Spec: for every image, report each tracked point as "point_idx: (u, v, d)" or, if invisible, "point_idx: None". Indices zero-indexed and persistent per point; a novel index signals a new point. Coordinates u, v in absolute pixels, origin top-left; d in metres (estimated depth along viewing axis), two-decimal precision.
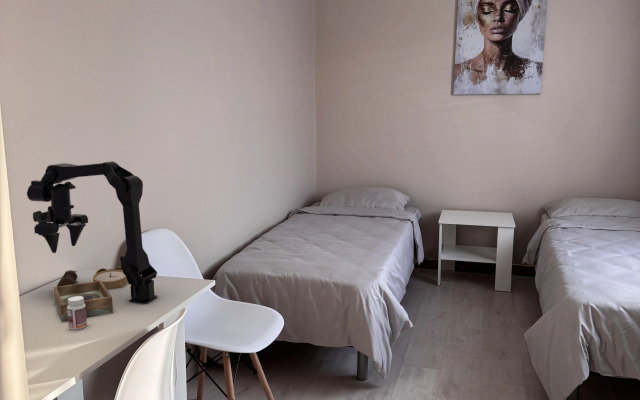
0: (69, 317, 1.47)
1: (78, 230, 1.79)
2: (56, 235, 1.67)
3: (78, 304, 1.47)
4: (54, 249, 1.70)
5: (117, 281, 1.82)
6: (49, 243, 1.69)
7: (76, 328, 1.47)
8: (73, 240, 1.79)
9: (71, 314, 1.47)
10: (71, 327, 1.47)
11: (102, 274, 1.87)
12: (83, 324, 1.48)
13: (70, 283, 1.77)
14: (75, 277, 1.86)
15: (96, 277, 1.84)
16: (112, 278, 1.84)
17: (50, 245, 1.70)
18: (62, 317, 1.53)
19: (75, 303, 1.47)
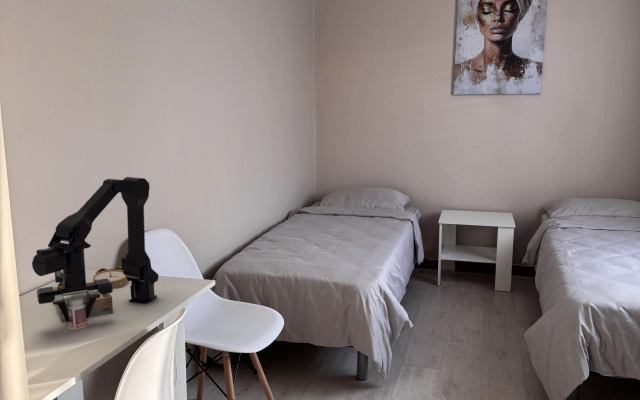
0: (69, 317, 1.47)
1: (88, 301, 1.48)
2: (59, 304, 1.44)
3: (78, 304, 1.47)
4: (65, 318, 1.47)
5: (117, 281, 1.82)
6: None
7: (76, 328, 1.47)
8: (86, 312, 1.50)
9: (71, 314, 1.47)
10: (71, 327, 1.47)
11: (102, 274, 1.87)
12: (83, 324, 1.48)
13: None
14: None
15: (96, 277, 1.84)
16: (112, 278, 1.84)
17: None
18: (62, 317, 1.53)
19: (75, 303, 1.47)
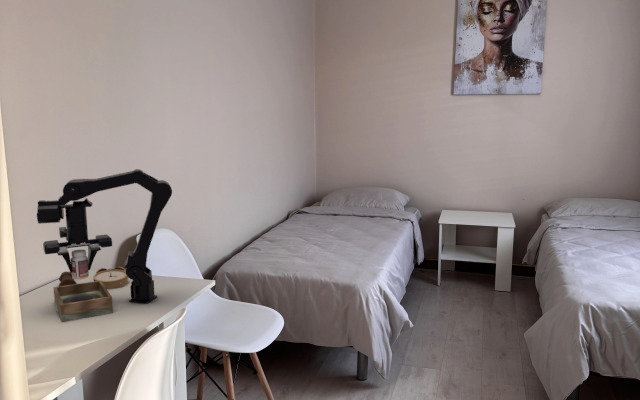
0: (73, 268, 1.62)
1: (90, 254, 1.63)
2: (64, 255, 1.58)
3: (81, 256, 1.62)
4: (69, 269, 1.61)
5: (117, 281, 1.82)
6: None
7: (79, 278, 1.62)
8: (88, 264, 1.65)
9: (75, 265, 1.61)
10: (74, 277, 1.62)
11: (102, 274, 1.87)
12: (85, 274, 1.63)
13: (72, 284, 1.77)
14: None
15: (96, 277, 1.85)
16: (112, 278, 1.84)
17: None
18: (62, 317, 1.53)
19: (78, 254, 1.61)
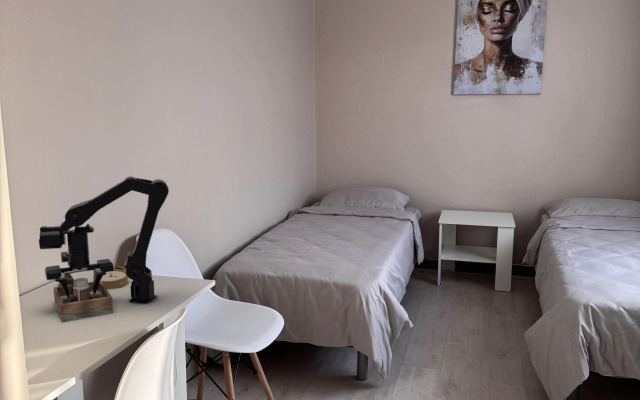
0: (74, 296, 1.63)
1: (95, 278, 1.65)
2: (61, 281, 1.59)
3: (83, 285, 1.63)
4: (66, 294, 1.62)
5: (117, 281, 1.82)
6: None
7: None
8: (93, 288, 1.67)
9: (77, 293, 1.63)
10: None
11: None
12: None
13: None
14: None
15: None
16: (112, 278, 1.84)
17: None
18: (62, 317, 1.53)
19: (80, 283, 1.63)
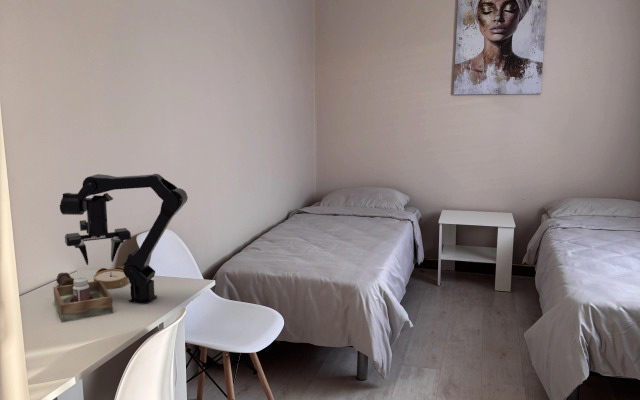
0: (74, 296, 1.63)
1: (113, 246, 1.69)
2: (81, 247, 1.63)
3: (83, 285, 1.63)
4: (85, 261, 1.66)
5: (117, 281, 1.82)
6: (82, 254, 1.67)
7: None
8: (111, 256, 1.71)
9: (77, 293, 1.63)
10: None
11: (103, 274, 1.88)
12: None
13: None
14: None
15: (97, 277, 1.85)
16: (112, 278, 1.85)
17: None
18: (62, 317, 1.53)
19: (80, 283, 1.63)
